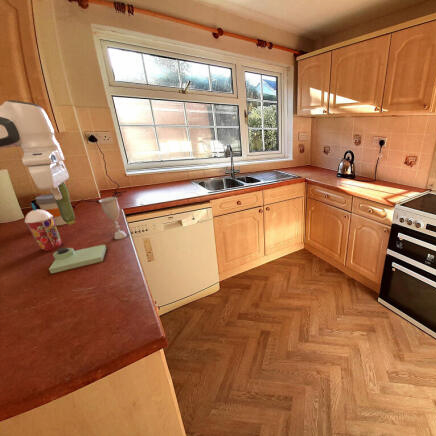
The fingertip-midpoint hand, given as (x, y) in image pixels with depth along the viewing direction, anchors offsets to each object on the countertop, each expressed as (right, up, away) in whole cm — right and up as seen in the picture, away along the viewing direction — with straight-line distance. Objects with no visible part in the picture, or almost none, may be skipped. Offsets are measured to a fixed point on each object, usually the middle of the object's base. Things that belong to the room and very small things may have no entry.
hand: (61, 197), depth 84 cm
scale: (-2, -23, +10) cm, 26 cm away
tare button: (-8, -21, +10) cm, 24 cm away
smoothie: (-23, -20, +21) cm, 37 cm away
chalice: (0, -16, +29) cm, 33 cm away
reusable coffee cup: (-45, -10, +48) cm, 66 cm away
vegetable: (0, -9, +4) cm, 10 cm away
